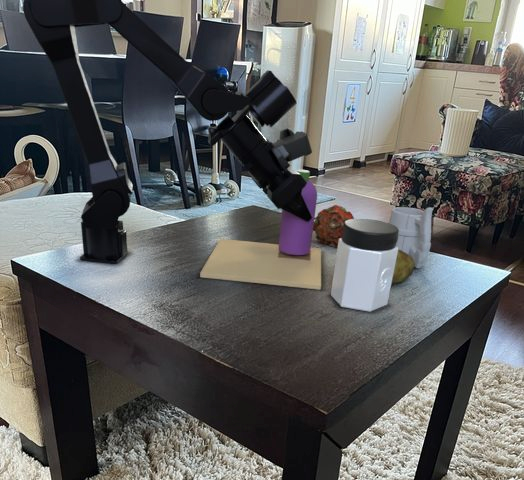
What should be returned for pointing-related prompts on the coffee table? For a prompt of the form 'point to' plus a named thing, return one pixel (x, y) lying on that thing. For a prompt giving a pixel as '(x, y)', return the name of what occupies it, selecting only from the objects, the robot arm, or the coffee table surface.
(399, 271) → the potato
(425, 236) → the mug
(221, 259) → the cork mat
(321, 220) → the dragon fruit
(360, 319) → the coffee table surface
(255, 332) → the coffee table surface
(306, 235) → the purple bottle
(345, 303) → the jar
